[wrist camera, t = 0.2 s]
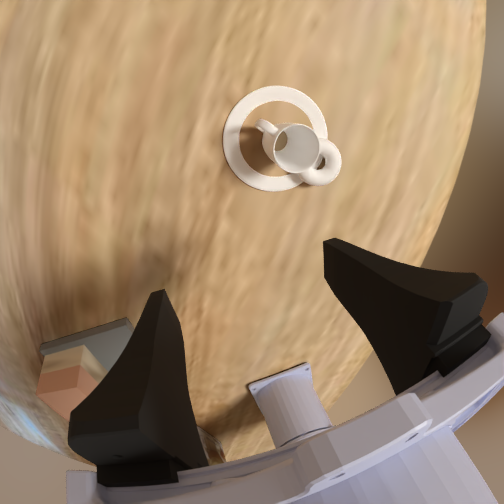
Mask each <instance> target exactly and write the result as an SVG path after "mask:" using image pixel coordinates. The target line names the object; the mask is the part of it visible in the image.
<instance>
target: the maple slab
mask: <svg viewBox="0 0 504 504" xmlns="http://www.w3.org/2000/svg"><path fill="white" fill-rule="evenodd" d="M77 365H81V366H82V367H83V368H84V369H85V370H86V371H87V372H88V373H89V374H90V375H91V376H92V377H93V378H94V379H95V380H96V381H97V382H98V383H100V382H101V381H102V380H103V378H104V377H105V376H106V374H107V373H108V371H107V370H106V369H105V368H104V367H103V366H102V365H101V363H100V362H99V361H98V360H97V359H96V358H95V357H94V356H93V354H92V353H91V352H90V351H89V350H88V349H87V348H86V346H85V345H81V346H77V347H74V348H70V349H67V350H63V351H60V352H56V353H52V354H49V355H45V358H44V361H43V365H42V369H41V373H40V374H44V373H48V372H52V371H57V370H61V369H65V368H69V367H73V366H77Z"/></svg>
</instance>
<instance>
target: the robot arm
mask: <svg viewBox="0 0 504 504" xmlns="http://www.w3.org/2000/svg"><path fill="white" fill-rule="evenodd" d="M323 252H324V278H325V279H326V281H327V283H328V285H329V286H330V288H331V290H332V291H333V293H334V295H335V296H336V297H337V298H338V300H339V301H340V302H341V304H342V305H343V306H344V307H345V309H346V310H347V311H348V312H349V314H350V315H351V316H352V317H353V319H354V320H355V321H356V323H357V324H358V325H359V326H360V328H361V329H362V331H363V332H364V334H365V335H366V337H367V339H368V340H369V342H370V344H371V345H372V347H373V349H374V351H375V352H376V354H377V356H378V358H379V360H380V362H381V363H382V366H383V368H384V370H385V372H386V374H387V376H388V378H389V380H390V382H391V385H392V387H393V390H394V392H395V394H396V396H395V397H393V398H392V399H390V400H388V401H386V402H384V403H383V404H381V405H379V406H377V407H375V408H373V409H371V410H369V411H367V412H365V413H363V414H361V415H359V416H357V417H355V418H353V419H351V420H348V421H346V422H344V423H342V424H339V425H337V426H333V425H332V423H331V421H330V419H329V417H328V415H327V413H326V411H325V409H324V407H323V406H322V404H321V402H320V400H319V398H318V396H317V394H316V392H315V390H314V388H313V382H312V374H311V367H310V364H309V363H304V364H302V365H300V366H297V367H295V368H292V369H289V370H287V371H284V372H282V373H279V374H276V375H274V376H271V377H268V378H265V379H263V380H260V381H257V382H254V383H251V384H250V385H249V389H250V391H251V393H252V395H253V397H254V399H255V401H256V403H257V405H258V407H259V409H260V411H261V413H262V414H263V415H264V417H265V420H266V423H267V426H268V428H269V431H270V434H271V437H272V439H273V442H274V445H275V447H276V449H273V450H270V451H267V452H264V453H260V454H257V455H253V456H250V457H246V458H242V459H238V460H234V461H230V462H226V463H222V464H217V465H212V466H209V463H208V460H207V457H206V454H205V451H204V449H203V445H202V442H201V439H200V435H199V432H198V429H197V425H196V421H195V417H194V414H193V410H192V405H191V401H190V397H189V391H188V385H187V374H186V363H185V350H184V341H183V335H182V330H181V325H180V322H179V320H178V317H177V315H176V313H175V311H174V309H173V307H172V305H171V302H170V300H169V298H168V296H167V293H166V291H165V289H163V290H159V291H156V292H152V293H151V294H150V296H149V299H148V301H147V303H146V305H145V308H144V310H143V312H142V315H141V317H140V319H139V321H138V323H137V325H136V328H135V330H134V332H133V334H132V335H131V337H130V339H129V341H128V343H127V345H126V347H125V348H124V350H123V352H122V353H121V355H120V356H119V358H118V360H117V361H116V362H115V364H114V365H113V367H112V368H111V369H110V371H109V372H108V373H107V374H106V376H105V377H104V378H103V380H102V381H101V382H100V383H99V384H98V386H97V387H96V388H95V389H94V390H93V391H92V392H91V393H90V394H89V395H88V396H87V397H86V398H85V399H84V400H83V401H82V402H81V403H80V404H79V405H78V406H77V407H76V408H74V409H73V410H72V411H71V412H70V420H69V431H68V445H69V446H70V447H71V449H72V450H73V451H74V452H76V453H77V454H79V455H80V456H82V457H83V458H85V459H87V460H88V461H90V462H92V463H94V464H95V465H97V472H93V471H84V470H83V471H82V470H67V471H66V494H67V504H498V502H497V501H496V499H495V497H494V496H493V494H492V492H491V491H490V489H489V487H488V486H487V484H486V483H485V481H484V479H483V478H482V476H481V474H480V473H479V471H478V470H477V468H476V467H475V465H474V464H473V462H472V461H471V459H470V457H469V456H468V454H467V453H466V451H465V450H464V448H463V447H462V445H461V444H460V443H459V441H458V439H457V438H456V437H455V435H454V434H453V432H454V431H455V430H457V429H458V428H459V427H460V426H462V425H463V424H464V423H465V422H466V421H467V420H469V419H470V418H471V417H472V416H473V415H474V414H475V413H476V412H477V411H478V410H480V409H481V408H482V407H483V406H484V405H485V404H486V403H487V402H488V401H489V400H490V399H491V398H492V397H493V396H494V395H495V394H496V393H497V392H498V391H499V390H500V389H501V388H502V387H503V386H504V314H503V313H500V314H499V315H498V316H497V317H496V318H495V319H493V320H492V321H491V322H490V323H489V324H488V325H487V327H486V328H485V327H484V326H483V325H482V323H483V319H482V318H481V317H480V316H479V314H480V311H481V309H482V307H483V304H484V302H485V299H486V296H487V292H488V285H487V283H486V282H485V281H484V280H483V279H481V278H480V277H479V276H478V275H476V274H475V273H459V272H457V273H456V272H445V271H437V270H430V269H425V268H420V267H415V266H411V265H407V264H404V263H400V262H397V261H394V260H391V259H388V258H385V257H382V256H380V255H377V254H374V253H372V252H369V251H367V250H364V249H362V248H360V247H357V246H355V245H352V244H350V243H348V242H345V241H343V240H340V239H337V238H332V239H329V240H326V241H323Z"/></svg>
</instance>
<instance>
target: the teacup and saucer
mask: <svg viewBox="0 0 504 504" xmlns="http://www.w3.org/2000/svg"><path fill="white" fill-rule="evenodd" d="M270 101H286V102H289V103H292V104H294V105H296V106H298V107H299V108H300V109H302V110H303V111H304V112H305V113H306V115H307V116H308V117H309V119H310V121H311V123H312V126H313V130H314V131H313V130H312V129H311V128H310V127H308V126H306V125H303V124H297V123H278V124H275V125H272V124H271V123H269V122H268V121H266V120H264V119H261V118H260V119H258V120H257V121H256V122H255V127H256V128H257V129H258V130H260V131H261V132H262V133H263V138H262V145H263V149H264V151H265V153H266V154H267V156H268V157H269V158H270V159H271V160H272V161H273V162H274V163H276V164H277V165H278V166H279V167H280V168H282V169H283V170H285V171H287V172H290V173H291V174H288V175H285V176H281V177H270V176H265V175H262V174H260V173H258V172H256V171H255V170H253V169H252V168H251V167H250V166H249V165H248V164H247V163H246V161H245V160H244V158H243V156H242V154H241V151H240V146H239V134H240V129H241V126H242V124H243V122H244V120H245V118H246V117H247V116H248V114H249V113H250V112H251V111H252V110H253V109H255V108H256V107H258V106H259V105H261V104H263V103H266V102H270ZM282 131H284V132H285V133H286V135H287V139H288V140H287V144H286V146H285V147H284V148H283V149H282V150H280V151H274V148H275V142H276V140H277V138H278V136H279V135H280V133H281V132H282ZM223 148H224V153H225V157H226V159H227V162H228V164H229V166H230V167H231V169H232V171H233V172H234V173H235V174H236V175H237V176H238V177H239V178H240V179H241V180H242V181H243V182H245V183H246V184H248V185H249V186H251V187H254V188H256V189H259V190H263V191H283V190H288V189H291V188H293V187H296V186H298V185H299V184H301V183H303V182H305V183H307V184H309V185H313V186H323V185H326V184H328V183H330V182H331V181H333V180H334V179H335V178H336V177H337V175H338V173H339V171H340V168H341V155H340V152H339V150H338V149H337V147H336V146H335V145H334V144H333V143H332V142H330V141H329V140H327V127H326V123H325V119H324V117H323V115H322V113H321V111H320V109H319V108H318V106H317V105H316V104H315V102H314V101H313V100H312V99H311V98H309V97H308V96H307V95H305V94H304V93H302V92H300V91H298V90H296V89H293V88H290V87H286V86H268V87H263V88H260V89H257V90H255V91H253V92H251V93H249V94H248V95H246V96H245V97H243V98H242V99H241V100H240V101H239V102H238V103H237V104H236V105H235V107H234V108H233V109H232V111H231V112H230V114H229V116H228V118H227V121H226V124H225V127H224V132H223ZM323 157H324V158H325V162H326V163H325V166H324V167H323V168H322V169H320V170H316V169H317V168H318V167H319V165H320V163H321V161H322V159H323Z"/></svg>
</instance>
